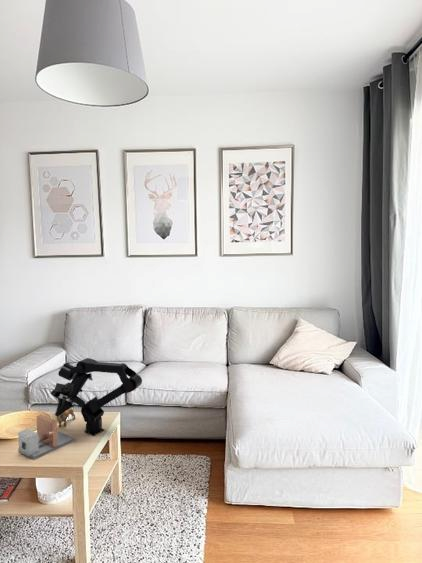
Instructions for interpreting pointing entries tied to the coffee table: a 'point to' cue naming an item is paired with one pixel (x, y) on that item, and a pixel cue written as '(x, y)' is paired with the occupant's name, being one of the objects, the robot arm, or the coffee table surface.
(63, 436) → the base board
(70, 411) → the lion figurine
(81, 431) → the coffee table surface
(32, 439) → the bearing block
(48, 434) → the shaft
